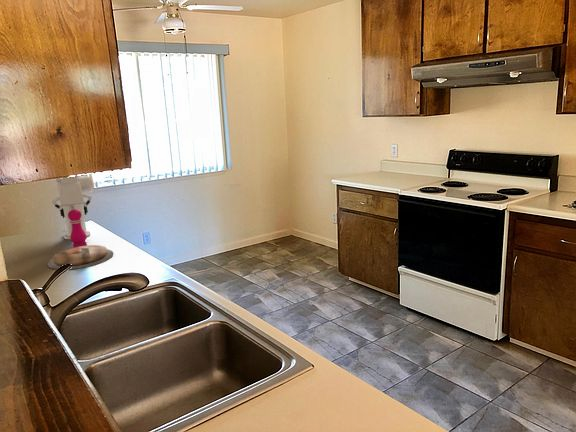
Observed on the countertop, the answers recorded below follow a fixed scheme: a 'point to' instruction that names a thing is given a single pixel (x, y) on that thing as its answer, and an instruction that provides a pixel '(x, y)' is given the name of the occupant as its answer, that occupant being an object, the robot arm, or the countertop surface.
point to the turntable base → (107, 257)
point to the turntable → (80, 255)
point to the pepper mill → (77, 228)
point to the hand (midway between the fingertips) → (74, 215)
